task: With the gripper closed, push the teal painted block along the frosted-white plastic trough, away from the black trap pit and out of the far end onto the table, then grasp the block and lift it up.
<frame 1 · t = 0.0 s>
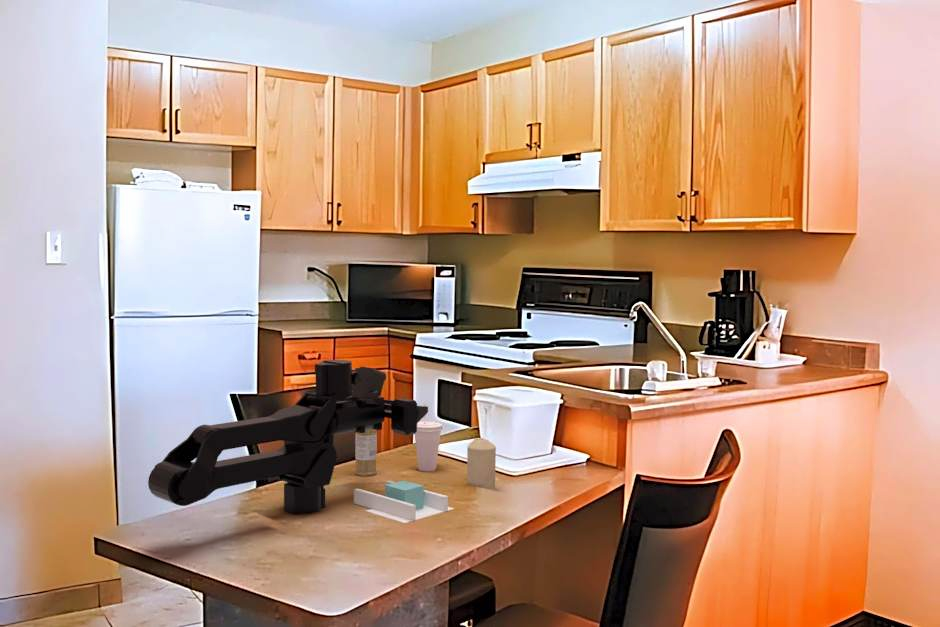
hand: (410, 406, 176), 17 cm above the counter, tool horizontal, fingers open, 9 cm apart
block: (404, 507, 161), point 1 cm above the counter, touching trough
candle: (480, 490, 179), on the counter
smoothie: (427, 470, 195), on the counter
trough: (400, 514, 161), on the counter
sprinkles bottle: (365, 474, 190), on the counter
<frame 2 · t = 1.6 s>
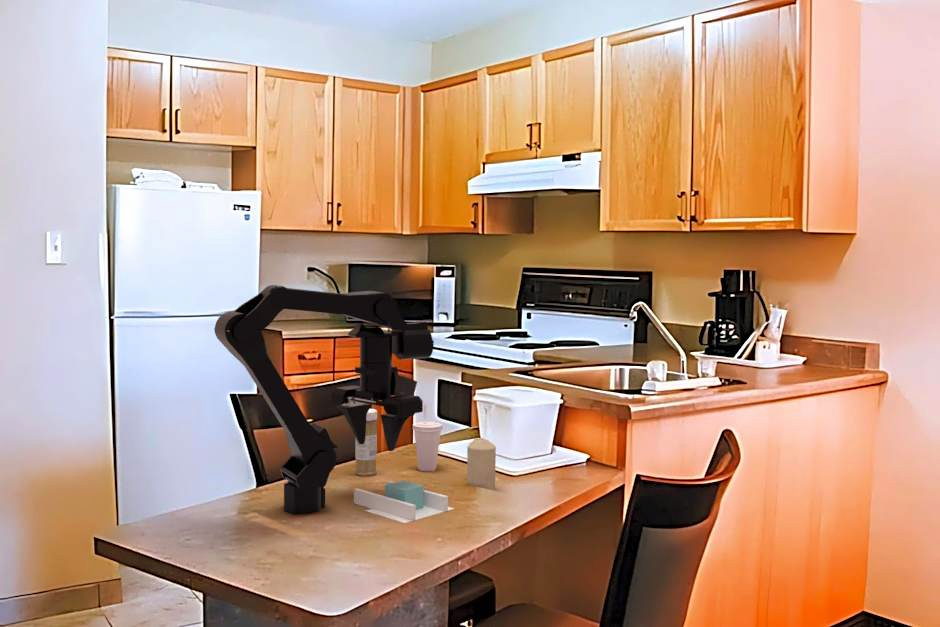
hand: (376, 447, 165), 11 cm above the counter, tool pointing down, fingers open, 8 cm apart
nothing on the counter moved.
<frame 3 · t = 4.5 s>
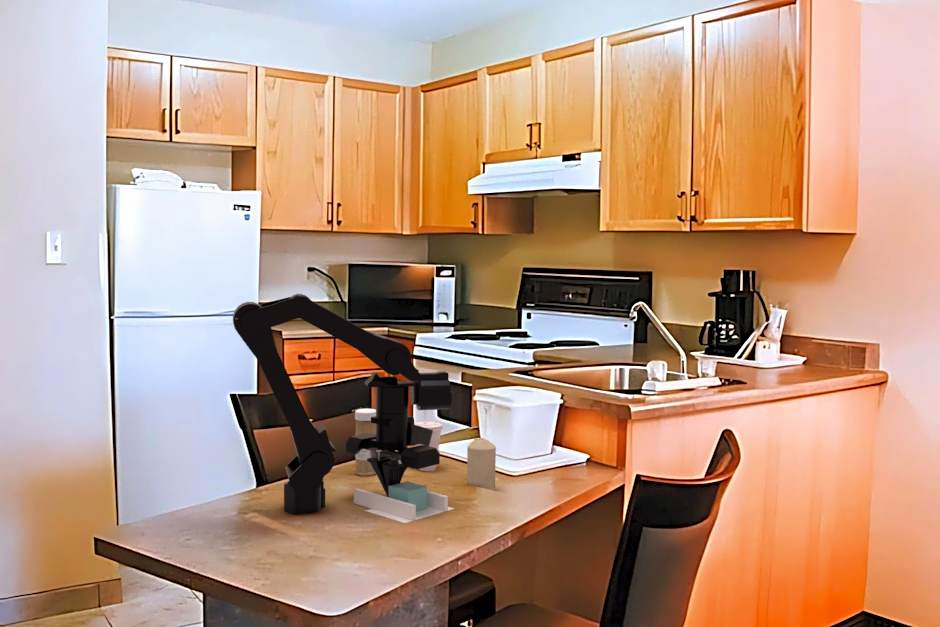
hand: (391, 497, 163), 3 cm above the counter, tool pointing down, fingers closed
block: (407, 508, 160), point 2 cm above the counter, touching gripper
everything else where it was.
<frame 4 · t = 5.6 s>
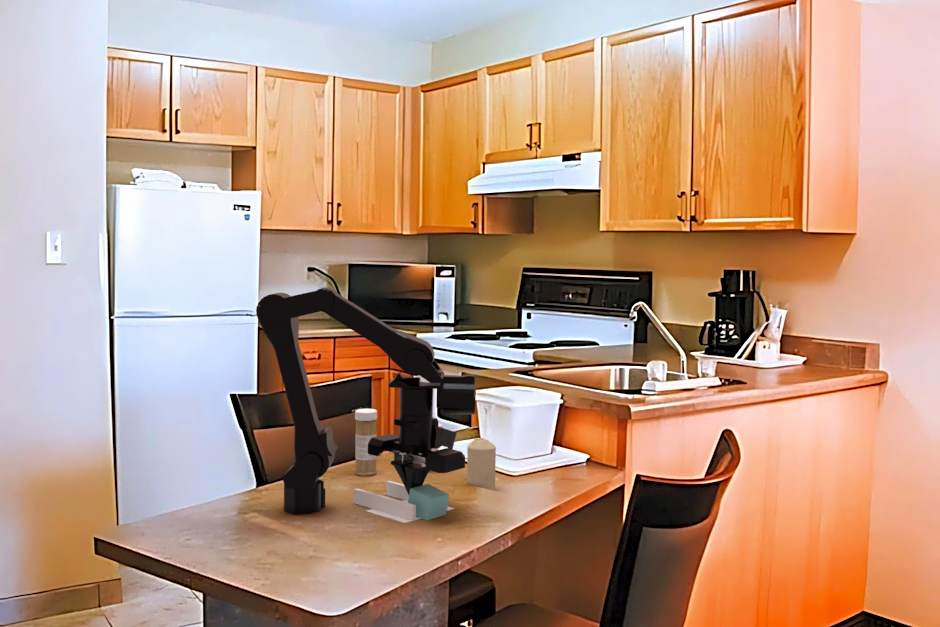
hand: (414, 501, 159), 3 cm above the counter, tool pointing down, fingers closed
block: (426, 513, 157), point 2 cm above the counter, tilted 10°, touching gripper, trough
everything else where it was.
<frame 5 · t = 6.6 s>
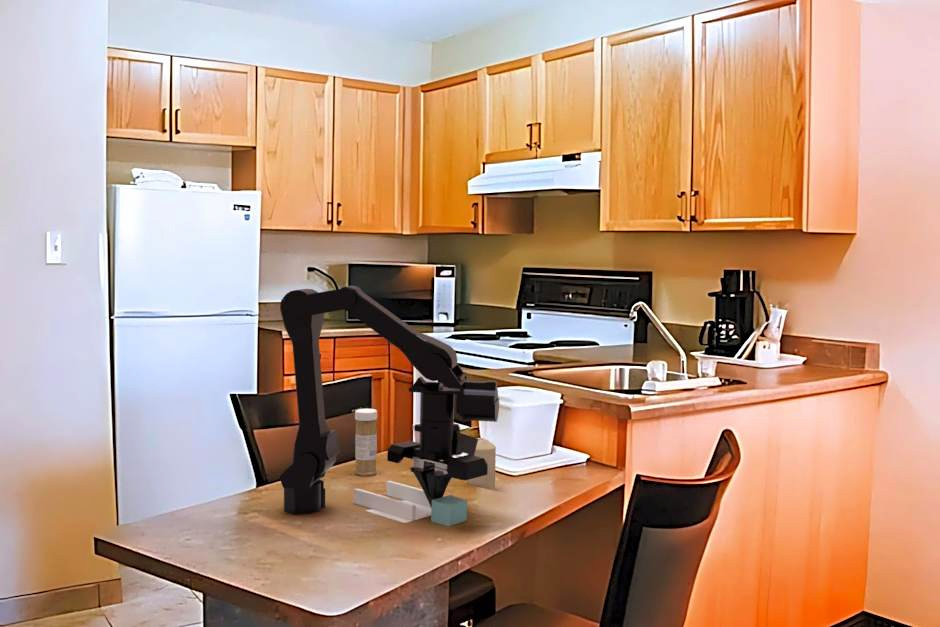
hand: (435, 509, 155), 3 cm above the counter, tool pointing down, fingers closed
block: (440, 511, 155), point 3 cm above the counter, tilted 93°, touching gripper
everything else where it was.
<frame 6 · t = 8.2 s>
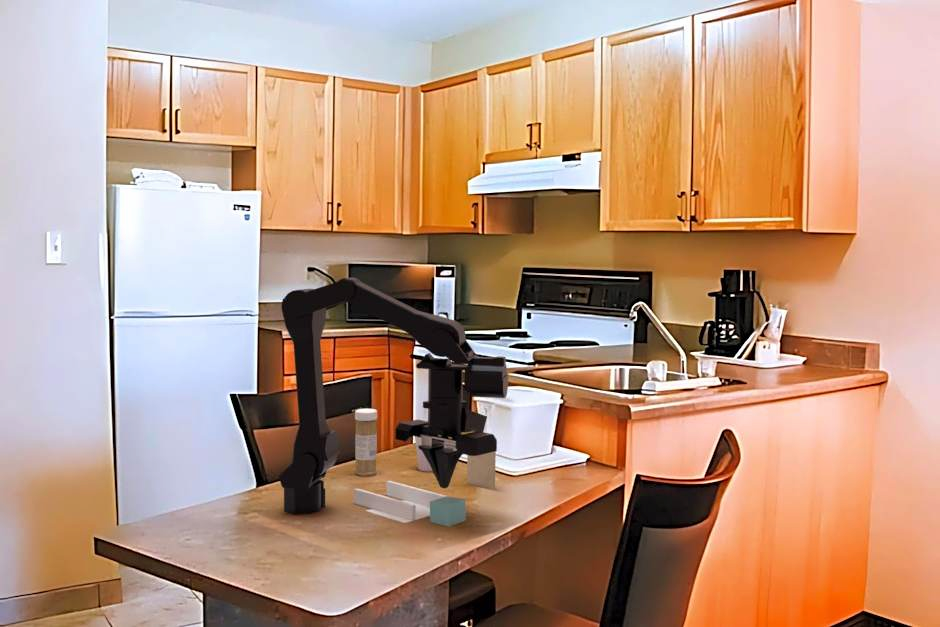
hand: (444, 487, 154), 7 cm above the counter, tool pointing down, fingers closed
block: (438, 513, 154), point 2 cm above the counter, tilted 87°
everything else where it was.
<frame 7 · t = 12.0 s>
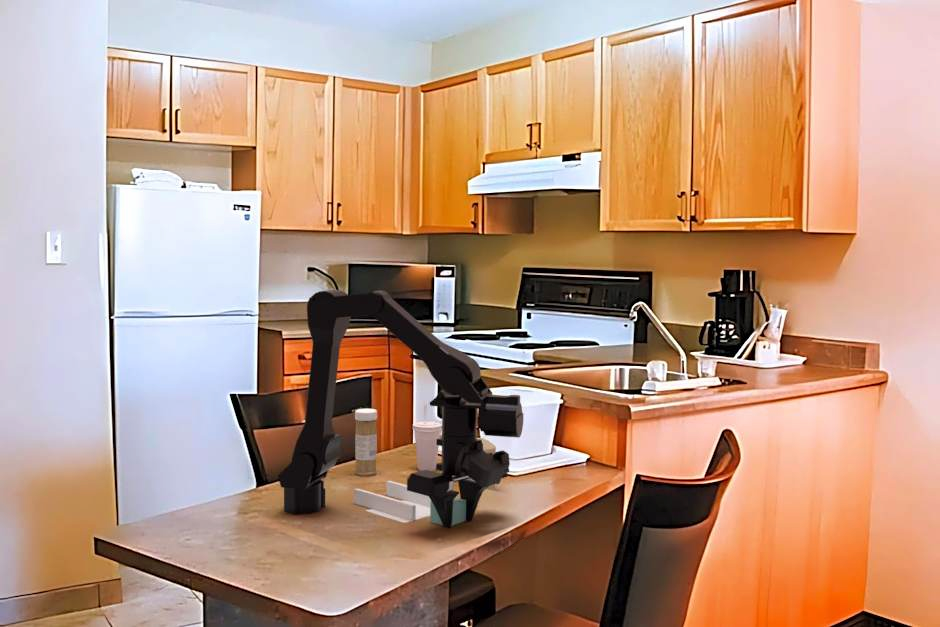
hand: (457, 526, 152), 1 cm above the counter, tool pointing down, fingers closed on block, 4 cm apart
block: (439, 512, 154), point 2 cm above the counter, tilted 90°, touching gripper
everything else where it was.
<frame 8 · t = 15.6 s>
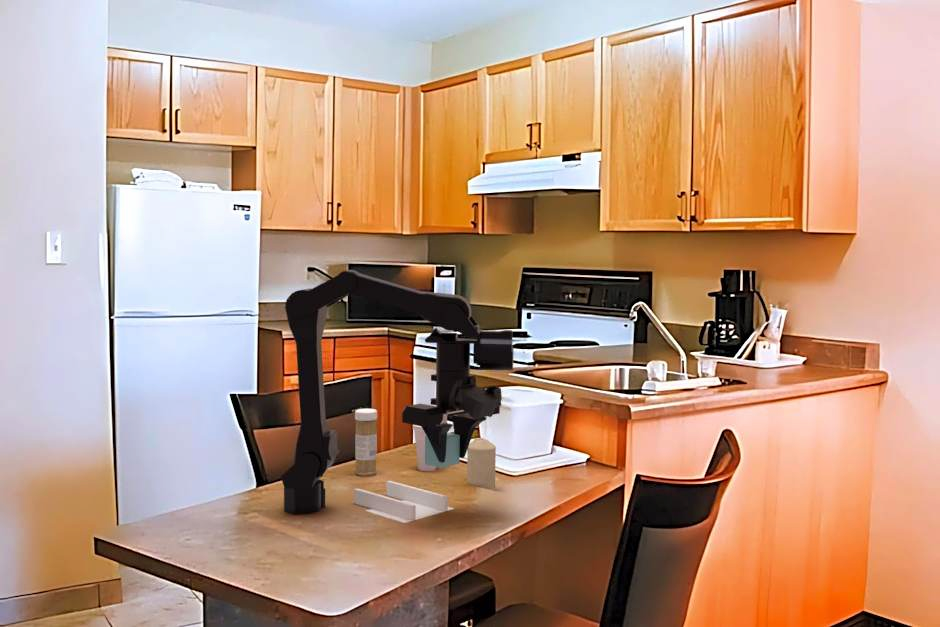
hand: (451, 459, 156), 11 cm above the counter, tool pointing down, fingers closed on block, 4 cm apart
block: (433, 447, 159), point 12 cm above the counter, tilted 90°, touching gripper
everything else where it was.
at the end: the gripper is holding block; block point 12.4 cm above the counter; block moved 12.0 cm from its start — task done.
